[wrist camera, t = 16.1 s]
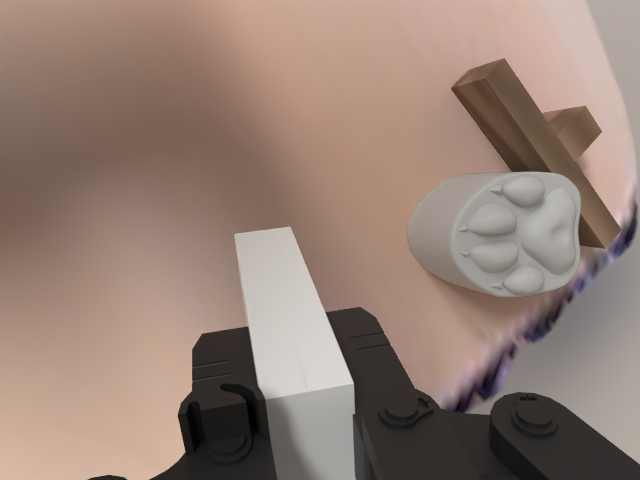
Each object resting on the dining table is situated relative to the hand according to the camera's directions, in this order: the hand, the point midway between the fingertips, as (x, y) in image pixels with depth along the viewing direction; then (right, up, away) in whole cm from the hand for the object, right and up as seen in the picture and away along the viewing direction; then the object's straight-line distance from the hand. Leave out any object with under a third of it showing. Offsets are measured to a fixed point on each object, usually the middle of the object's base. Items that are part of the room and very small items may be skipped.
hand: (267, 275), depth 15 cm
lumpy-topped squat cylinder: (+15, +2, +37) cm, 40 cm away
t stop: (+22, +10, +38) cm, 45 cm away
